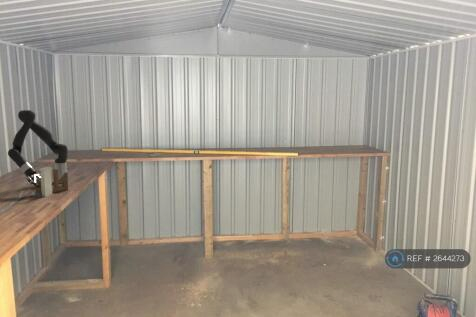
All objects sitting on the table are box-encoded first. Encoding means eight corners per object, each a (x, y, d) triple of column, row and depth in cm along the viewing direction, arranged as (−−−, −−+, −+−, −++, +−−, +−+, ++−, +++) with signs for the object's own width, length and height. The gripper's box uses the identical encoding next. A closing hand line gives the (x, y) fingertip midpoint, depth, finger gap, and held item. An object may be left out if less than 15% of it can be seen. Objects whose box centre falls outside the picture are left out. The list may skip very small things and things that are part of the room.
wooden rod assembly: (68, 190, 335) (67, 168, 332) (55, 192, 327) (54, 169, 324) (66, 189, 338) (65, 167, 335) (52, 191, 329) (52, 169, 327)
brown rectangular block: (39, 192, 321) (38, 180, 319) (46, 193, 319) (45, 180, 318) (35, 194, 317) (35, 181, 315) (42, 194, 315) (42, 181, 314)
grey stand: (39, 192, 324) (37, 165, 321) (54, 193, 322) (53, 166, 318) (29, 195, 314) (27, 168, 310) (44, 197, 311) (43, 169, 308)
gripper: (24, 168, 309) (38, 184, 309) (37, 165, 323) (51, 181, 323) (18, 175, 311) (32, 191, 311) (31, 171, 325) (45, 187, 324)
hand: (42, 186), depth 317 cm, fingers open, 8 cm apart
